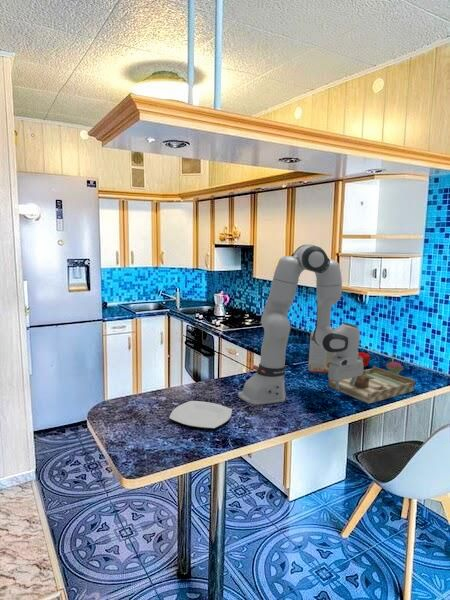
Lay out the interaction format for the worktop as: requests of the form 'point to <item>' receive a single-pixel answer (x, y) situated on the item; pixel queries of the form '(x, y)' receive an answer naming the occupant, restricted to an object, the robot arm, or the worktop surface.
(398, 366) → the cupcake
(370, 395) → the trap deck
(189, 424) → the plate
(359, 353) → the apple
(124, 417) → the worktop surface
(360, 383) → the walnut block
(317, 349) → the cracker box
